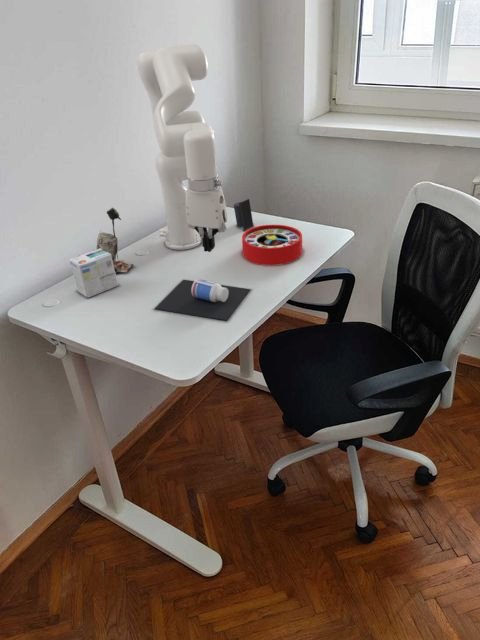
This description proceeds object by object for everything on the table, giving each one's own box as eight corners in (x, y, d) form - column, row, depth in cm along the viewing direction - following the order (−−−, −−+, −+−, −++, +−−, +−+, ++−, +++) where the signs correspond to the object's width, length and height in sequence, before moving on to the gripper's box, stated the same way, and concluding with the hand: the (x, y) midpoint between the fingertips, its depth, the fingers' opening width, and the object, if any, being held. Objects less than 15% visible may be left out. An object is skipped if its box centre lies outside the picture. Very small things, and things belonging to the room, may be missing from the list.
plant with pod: (108, 262, 174) (94, 203, 162) (137, 266, 170) (126, 206, 159) (93, 272, 167) (79, 212, 156) (123, 277, 164) (111, 216, 153)
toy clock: (256, 221, 183) (310, 228, 176) (257, 237, 187) (310, 244, 180) (231, 243, 168) (289, 252, 162) (232, 260, 172) (289, 269, 165)
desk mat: (154, 309, 147) (154, 308, 147) (183, 280, 161) (183, 279, 161) (226, 321, 141) (226, 319, 141) (249, 290, 154) (249, 289, 154)
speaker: (257, 227, 194) (253, 199, 188) (243, 231, 191) (239, 203, 186) (247, 222, 199) (243, 195, 194) (234, 226, 197) (230, 199, 192)
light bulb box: (107, 279, 163) (100, 247, 157) (119, 286, 159) (112, 253, 153) (76, 291, 157) (67, 258, 151) (87, 298, 153) (79, 265, 147)
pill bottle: (193, 300, 151) (221, 308, 147) (188, 286, 147) (217, 294, 143) (203, 289, 154) (231, 296, 150) (199, 274, 150) (227, 281, 146)
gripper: (236, 180, 132) (239, 247, 143) (183, 175, 136) (190, 240, 147) (224, 190, 126) (229, 259, 137) (169, 185, 131) (178, 252, 142)
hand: (209, 249), depth 142 cm, fingers closed
